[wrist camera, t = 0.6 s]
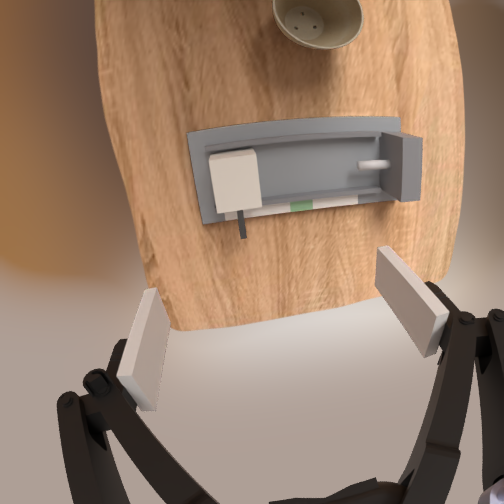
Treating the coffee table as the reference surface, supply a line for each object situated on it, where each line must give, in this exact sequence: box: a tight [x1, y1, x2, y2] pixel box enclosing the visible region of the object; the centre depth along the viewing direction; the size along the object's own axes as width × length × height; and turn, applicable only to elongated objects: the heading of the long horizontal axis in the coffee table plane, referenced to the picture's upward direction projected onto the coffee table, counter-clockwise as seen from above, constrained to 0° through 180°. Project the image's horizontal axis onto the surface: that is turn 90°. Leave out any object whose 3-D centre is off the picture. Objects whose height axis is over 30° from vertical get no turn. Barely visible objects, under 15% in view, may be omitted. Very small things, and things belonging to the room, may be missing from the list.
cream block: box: [209, 148, 262, 239], centre depth 35 cm, size 10×5×5 cm, turn 7°
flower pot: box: [272, 0, 364, 50], centre depth 26 cm, size 10×10×7 cm
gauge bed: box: [187, 116, 422, 224], centre depth 34 cm, size 12×28×7 cm, turn 97°
